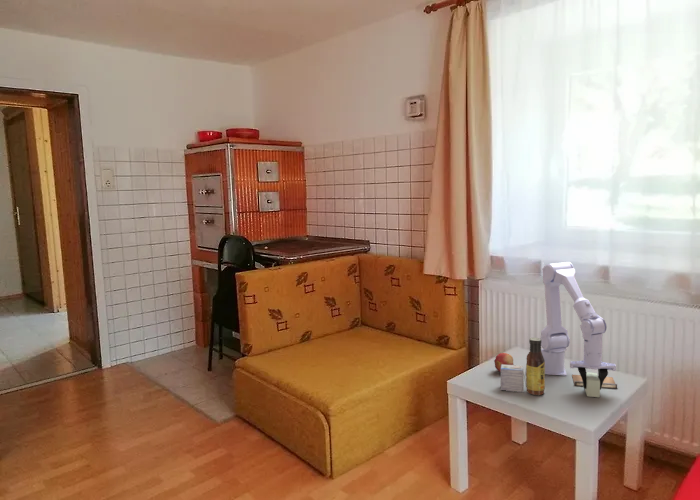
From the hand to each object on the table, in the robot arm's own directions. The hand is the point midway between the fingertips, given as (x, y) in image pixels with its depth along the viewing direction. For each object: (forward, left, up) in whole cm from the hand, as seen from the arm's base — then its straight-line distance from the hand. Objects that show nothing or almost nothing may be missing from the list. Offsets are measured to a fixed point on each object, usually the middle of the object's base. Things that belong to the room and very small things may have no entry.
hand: (591, 388), depth 178 cm
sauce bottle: (-19, -3, -2) cm, 19 cm away
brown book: (+2, +10, -2) cm, 10 cm away
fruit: (-30, +13, -2) cm, 33 cm away
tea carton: (0, 0, -2) cm, 2 cm away
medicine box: (-27, -2, -2) cm, 27 cm away
